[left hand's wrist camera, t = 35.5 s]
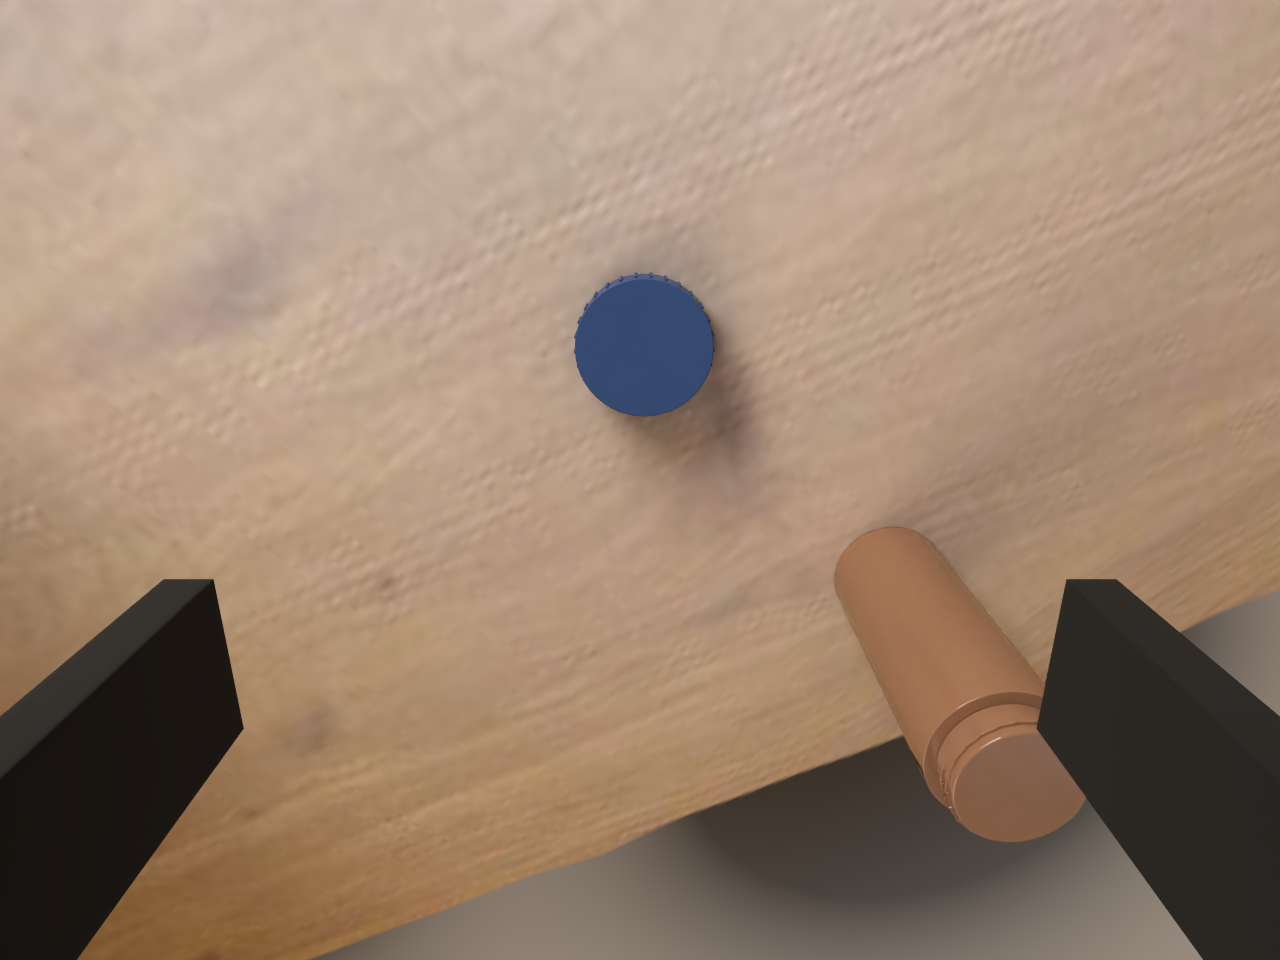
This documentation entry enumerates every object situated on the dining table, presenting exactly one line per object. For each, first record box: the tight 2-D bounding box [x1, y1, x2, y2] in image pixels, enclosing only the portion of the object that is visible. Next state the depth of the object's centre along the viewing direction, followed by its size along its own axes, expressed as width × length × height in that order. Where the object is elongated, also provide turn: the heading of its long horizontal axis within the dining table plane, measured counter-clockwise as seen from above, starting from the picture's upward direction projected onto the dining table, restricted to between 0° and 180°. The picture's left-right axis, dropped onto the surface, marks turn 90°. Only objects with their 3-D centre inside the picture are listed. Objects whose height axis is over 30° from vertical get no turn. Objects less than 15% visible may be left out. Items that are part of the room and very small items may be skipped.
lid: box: [574, 273, 714, 416], centre depth 36 cm, size 6×6×2 cm
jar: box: [835, 527, 1086, 842], centre depth 34 cm, size 6×6×16 cm
